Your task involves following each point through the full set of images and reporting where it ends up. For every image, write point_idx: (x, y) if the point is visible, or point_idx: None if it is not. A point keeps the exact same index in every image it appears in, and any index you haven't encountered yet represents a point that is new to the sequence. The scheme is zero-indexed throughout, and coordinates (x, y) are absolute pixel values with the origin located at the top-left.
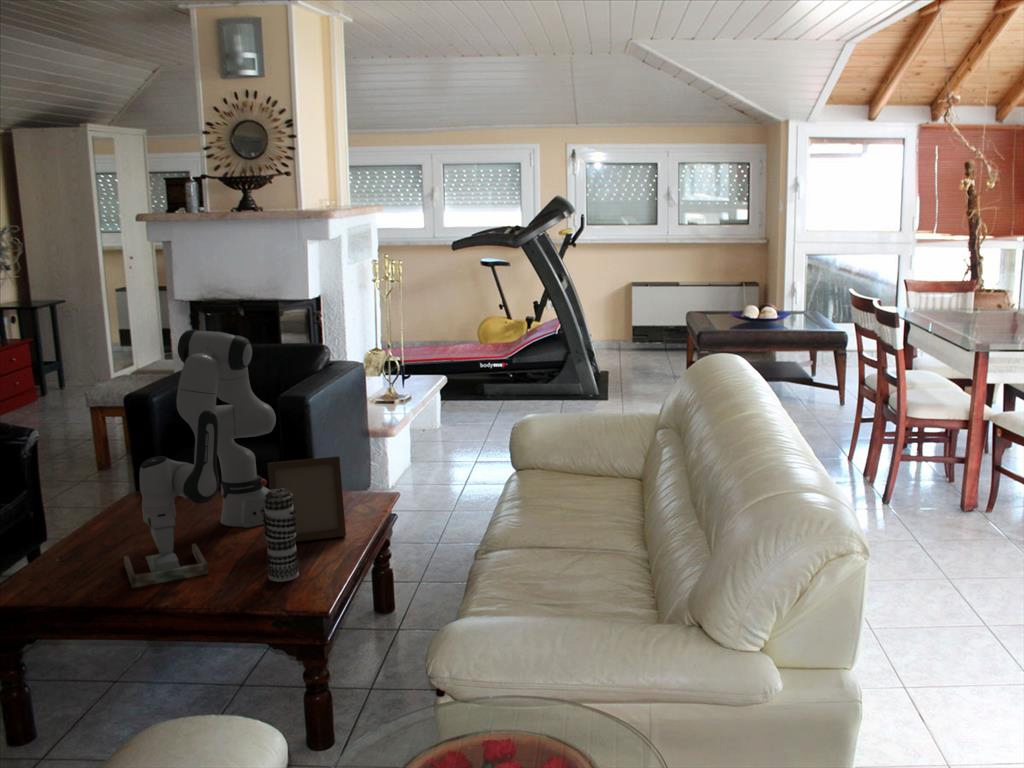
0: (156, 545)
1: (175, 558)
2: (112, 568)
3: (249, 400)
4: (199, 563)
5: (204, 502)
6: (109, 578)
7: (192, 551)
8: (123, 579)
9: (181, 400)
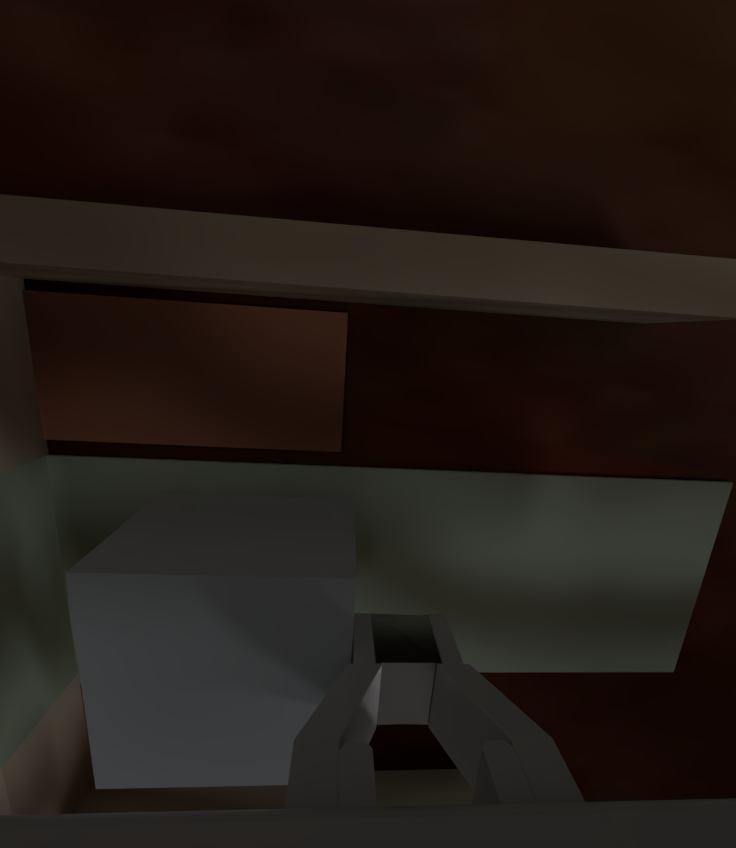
0: (312, 829)
1: (168, 770)
2: (671, 152)
3: None
4: (233, 808)
5: None
6: (399, 53)
7: None
8: (285, 194)
9: None
